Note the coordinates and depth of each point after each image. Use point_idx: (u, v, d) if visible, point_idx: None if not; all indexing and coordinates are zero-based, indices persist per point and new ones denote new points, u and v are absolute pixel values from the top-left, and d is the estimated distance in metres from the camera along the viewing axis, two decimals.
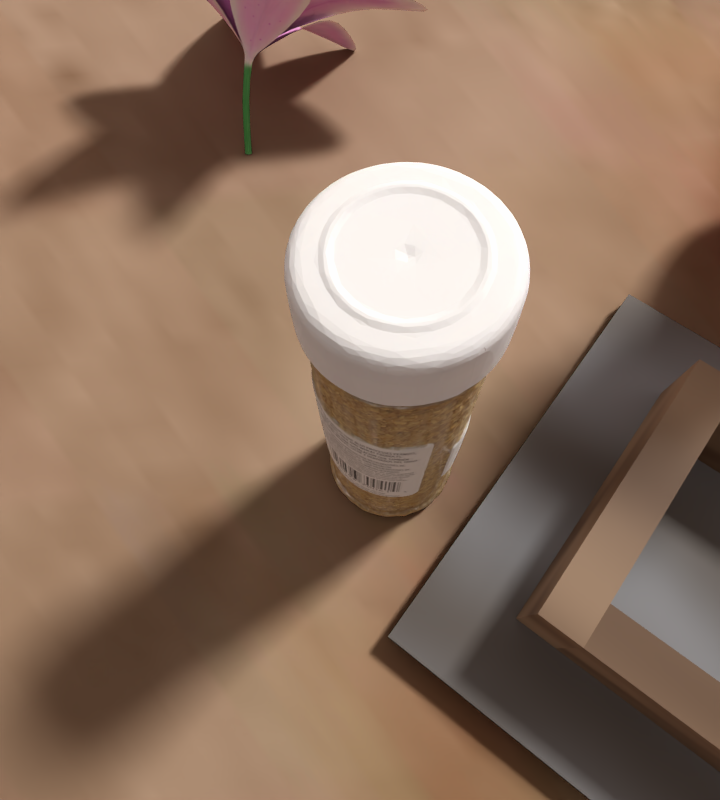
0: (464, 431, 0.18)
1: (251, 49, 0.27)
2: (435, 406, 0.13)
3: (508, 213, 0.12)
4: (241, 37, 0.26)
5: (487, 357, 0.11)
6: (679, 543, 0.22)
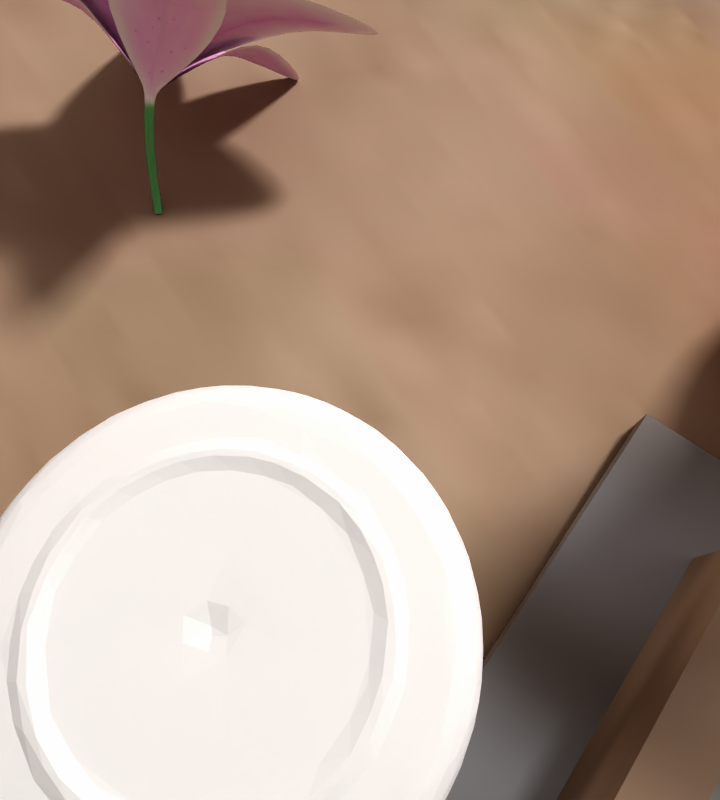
0: None
1: (151, 83, 0.21)
2: None
3: (438, 518, 0.06)
4: (136, 68, 0.20)
5: None
6: None
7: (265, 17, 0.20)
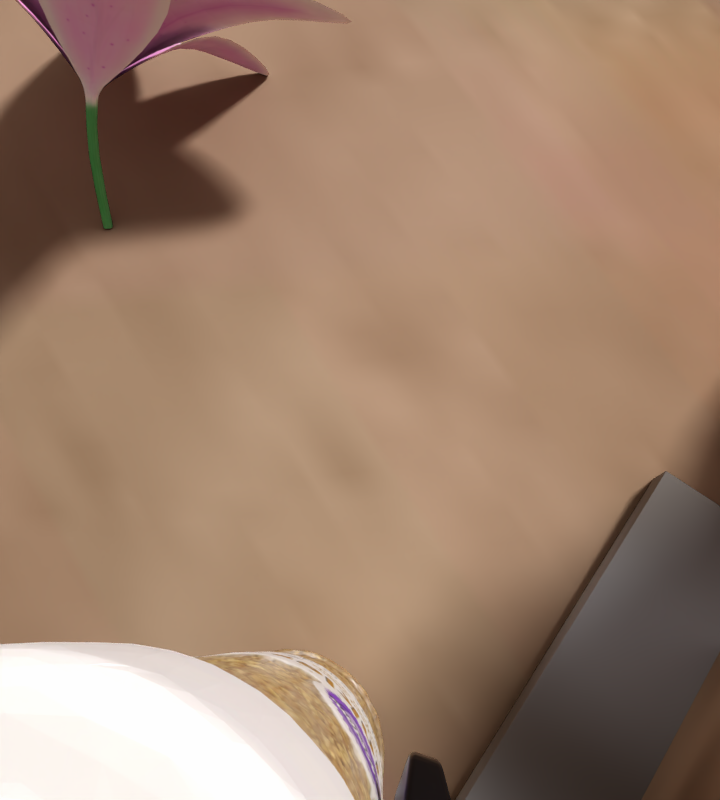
0: None
1: (92, 81, 0.18)
2: None
3: None
4: (73, 64, 0.18)
5: None
6: None
7: (221, 3, 0.17)
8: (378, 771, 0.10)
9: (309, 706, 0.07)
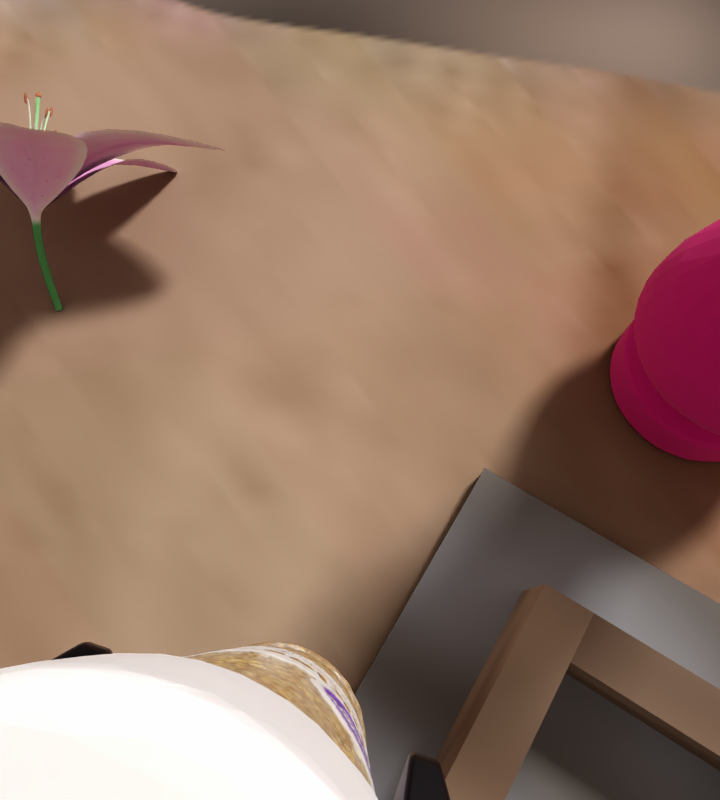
0: None
1: (35, 206, 0.24)
2: None
3: None
4: (19, 196, 0.23)
5: None
6: (546, 784, 0.19)
7: (127, 142, 0.23)
8: None
9: (314, 706, 0.07)
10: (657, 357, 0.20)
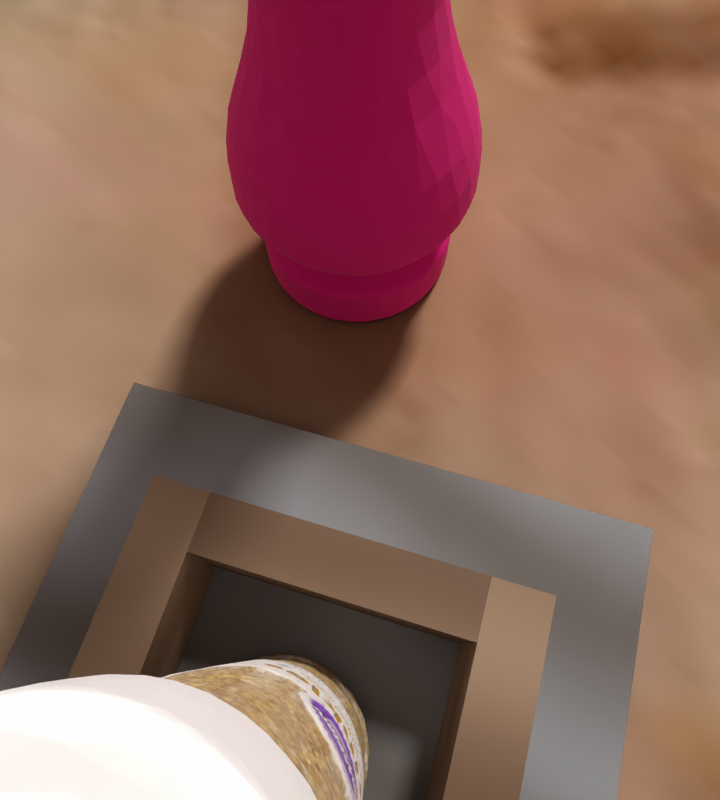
0: None
1: None
2: None
3: None
4: None
5: None
6: None
7: None
8: (357, 770, 0.11)
9: (292, 718, 0.08)
10: (244, 205, 0.18)
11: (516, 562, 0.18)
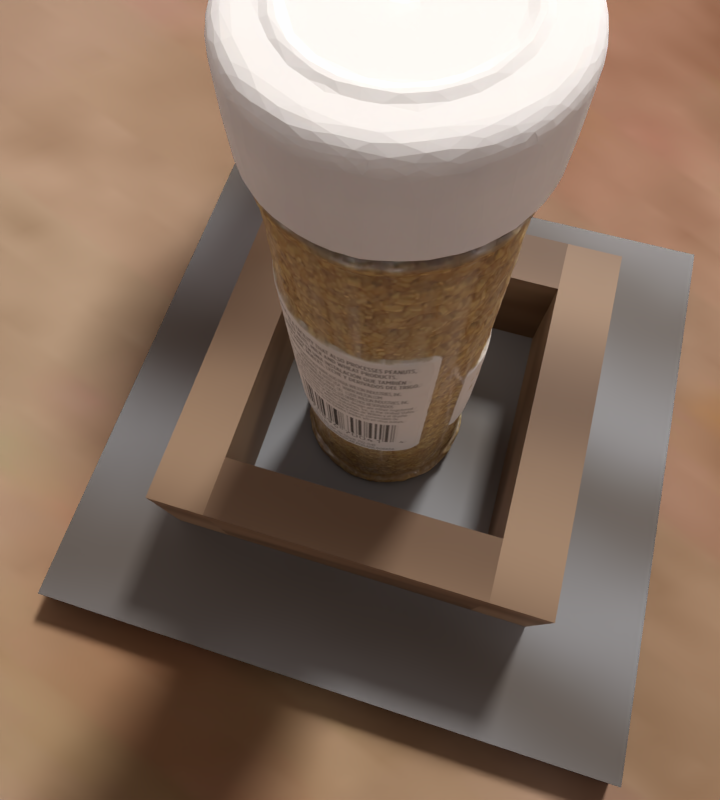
0: (482, 355, 0.13)
1: None
2: (447, 276, 0.09)
3: None
4: None
5: (537, 163, 0.07)
6: None
7: None
8: None
9: None
10: None
11: None
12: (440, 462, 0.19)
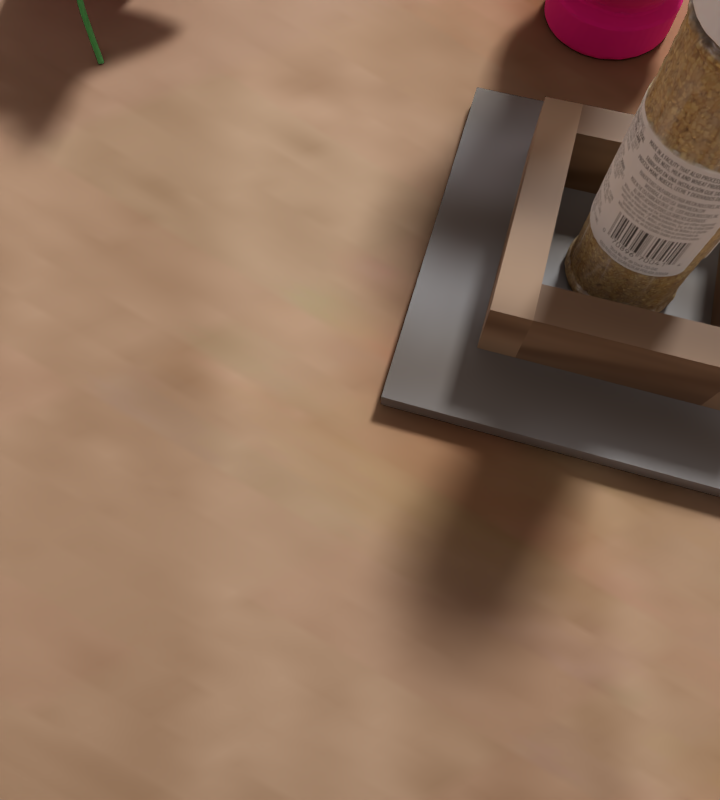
0: None
1: None
2: None
3: None
4: None
5: None
6: None
7: None
8: None
9: None
10: None
11: None
12: (664, 308, 0.25)
